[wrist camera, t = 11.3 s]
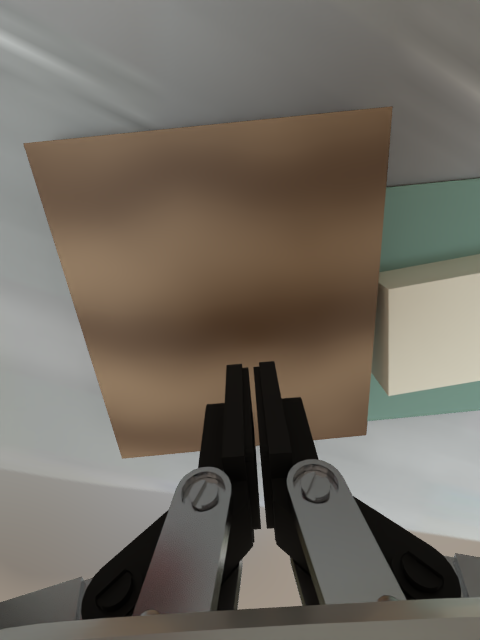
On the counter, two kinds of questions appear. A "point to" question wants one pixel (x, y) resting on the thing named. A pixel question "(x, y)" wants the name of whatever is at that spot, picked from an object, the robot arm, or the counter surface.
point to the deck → (223, 265)
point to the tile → (428, 326)
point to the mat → (422, 248)
